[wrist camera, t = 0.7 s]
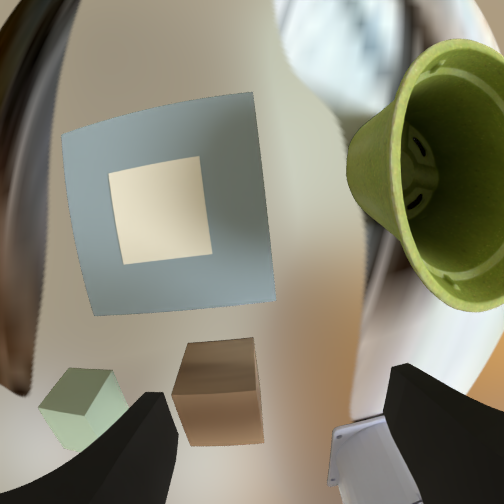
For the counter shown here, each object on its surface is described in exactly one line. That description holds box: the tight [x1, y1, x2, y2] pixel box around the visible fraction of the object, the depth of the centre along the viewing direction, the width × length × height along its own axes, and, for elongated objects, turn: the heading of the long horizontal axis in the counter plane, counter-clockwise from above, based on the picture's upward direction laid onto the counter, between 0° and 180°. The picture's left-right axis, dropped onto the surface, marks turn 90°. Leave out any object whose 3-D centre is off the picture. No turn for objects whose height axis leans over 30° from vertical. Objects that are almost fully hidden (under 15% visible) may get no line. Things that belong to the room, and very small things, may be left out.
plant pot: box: [346, 39, 504, 312], centre depth 11 cm, size 9×9×9 cm
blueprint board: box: [61, 92, 276, 316], centre depth 15 cm, size 11×11×1 cm
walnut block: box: [171, 337, 264, 446], centre depth 16 cm, size 4×4×5 cm
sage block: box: [38, 368, 129, 452], centre depth 16 cm, size 4×4×5 cm
